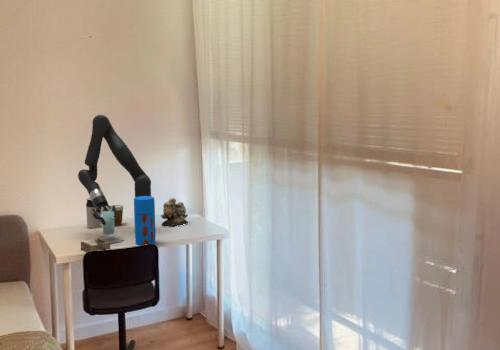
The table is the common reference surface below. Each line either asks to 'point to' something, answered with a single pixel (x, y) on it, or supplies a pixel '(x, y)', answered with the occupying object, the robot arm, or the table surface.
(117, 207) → the disposable coffee cup
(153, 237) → the thermos
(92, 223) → the travel mug
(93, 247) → the cradle
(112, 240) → the mat
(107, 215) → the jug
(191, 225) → the table surface
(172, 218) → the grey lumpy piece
